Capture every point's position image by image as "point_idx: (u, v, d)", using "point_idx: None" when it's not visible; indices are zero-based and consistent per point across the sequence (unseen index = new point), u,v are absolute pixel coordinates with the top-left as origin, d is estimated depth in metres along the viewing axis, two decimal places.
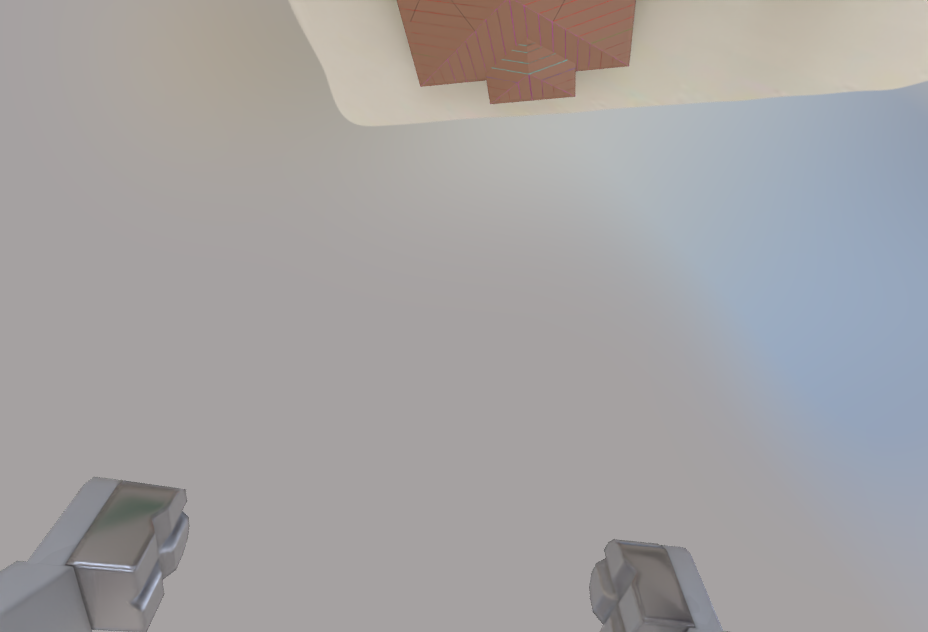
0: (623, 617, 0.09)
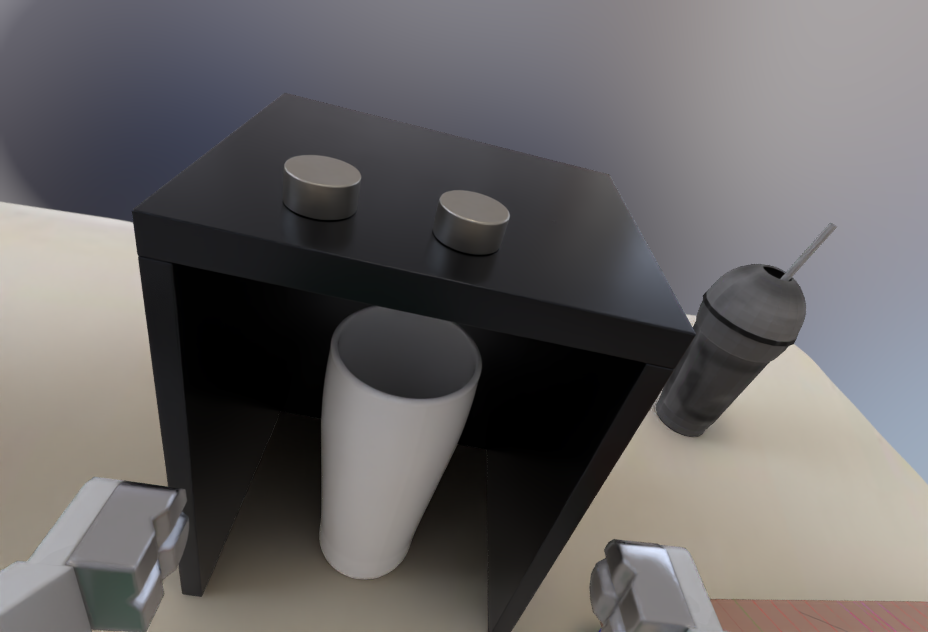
0: (623, 617, 0.09)
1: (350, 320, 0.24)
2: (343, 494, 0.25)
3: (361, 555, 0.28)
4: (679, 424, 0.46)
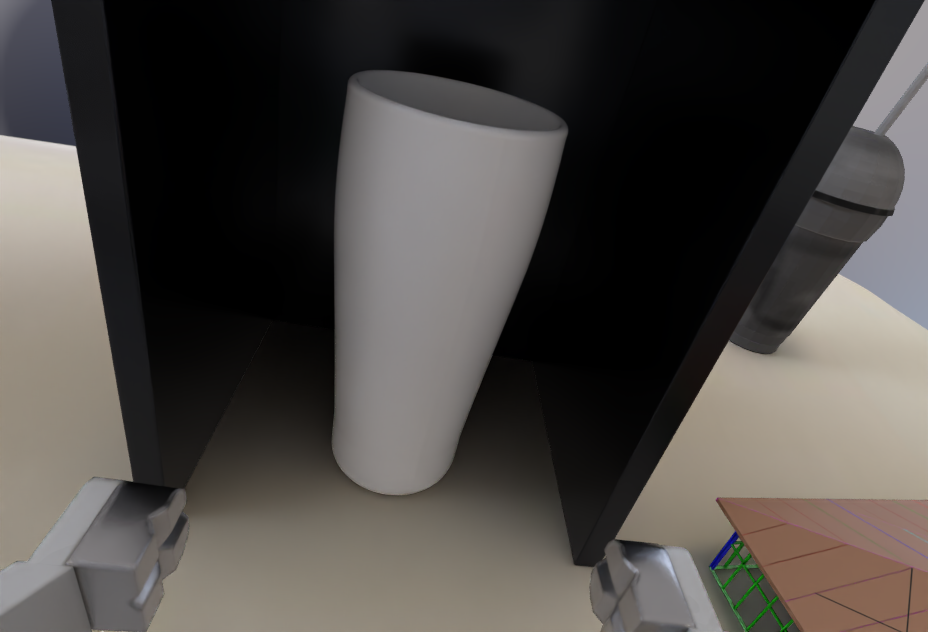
0: (623, 617, 0.09)
1: (373, 75, 0.16)
2: (370, 337, 0.17)
3: (394, 450, 0.20)
4: (750, 338, 0.38)
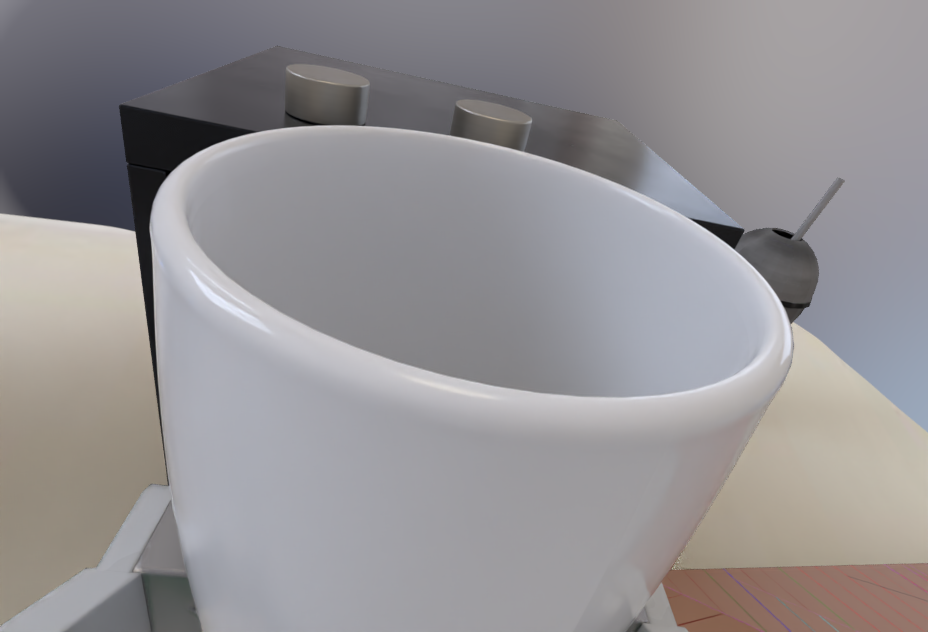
0: None
1: (267, 146, 0.07)
2: None
3: None
4: None
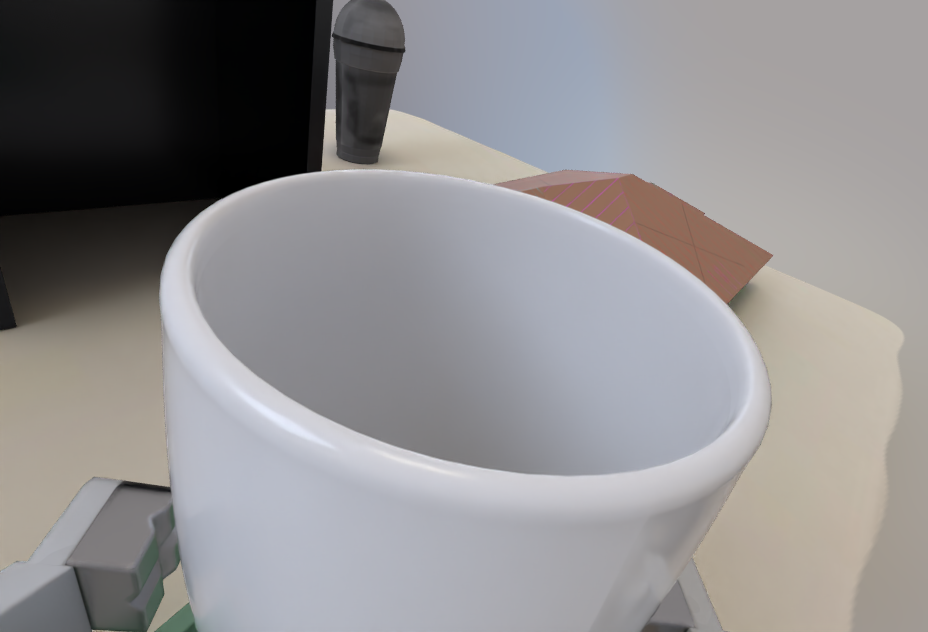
0: None
1: (269, 196, 0.07)
2: None
3: None
4: (359, 155, 0.57)
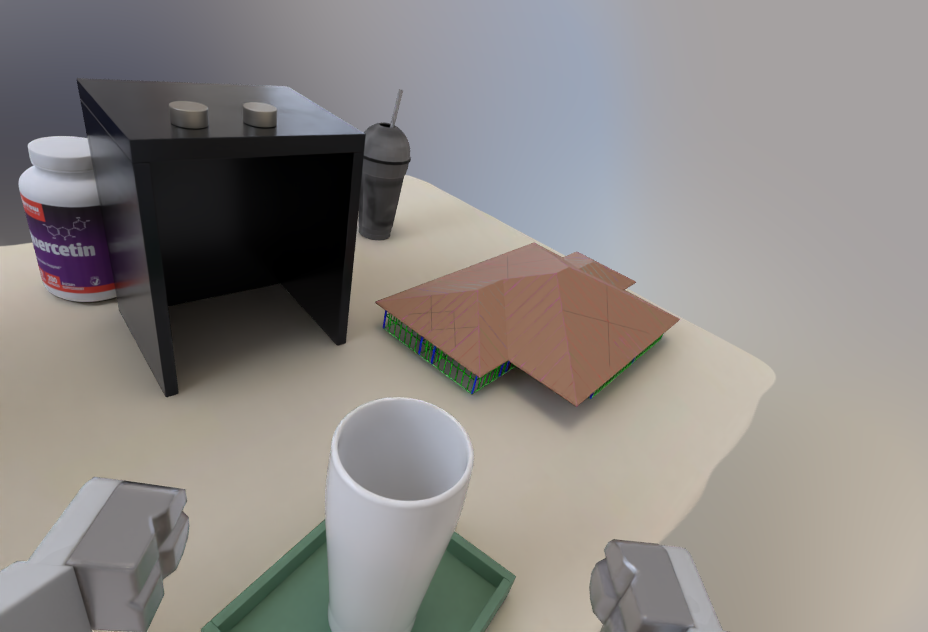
0: (623, 617, 0.09)
1: (349, 419, 0.25)
2: (348, 583, 0.26)
3: None
4: (376, 234, 0.75)
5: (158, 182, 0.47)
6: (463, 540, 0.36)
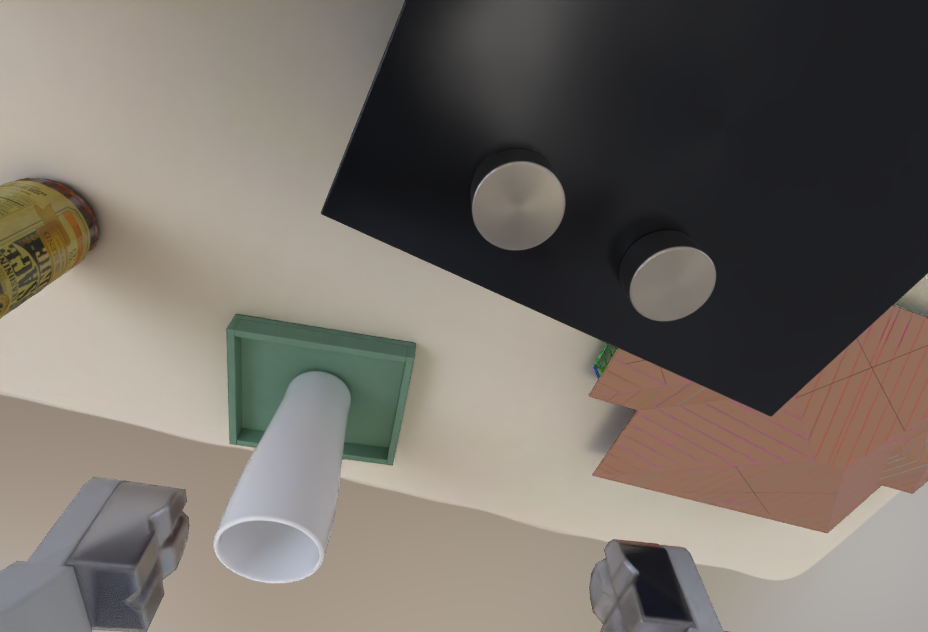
0: (623, 617, 0.09)
1: (261, 519, 0.31)
2: None
3: None
4: None
5: None
6: (397, 432, 0.46)
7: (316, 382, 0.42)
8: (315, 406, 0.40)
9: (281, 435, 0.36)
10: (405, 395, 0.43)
